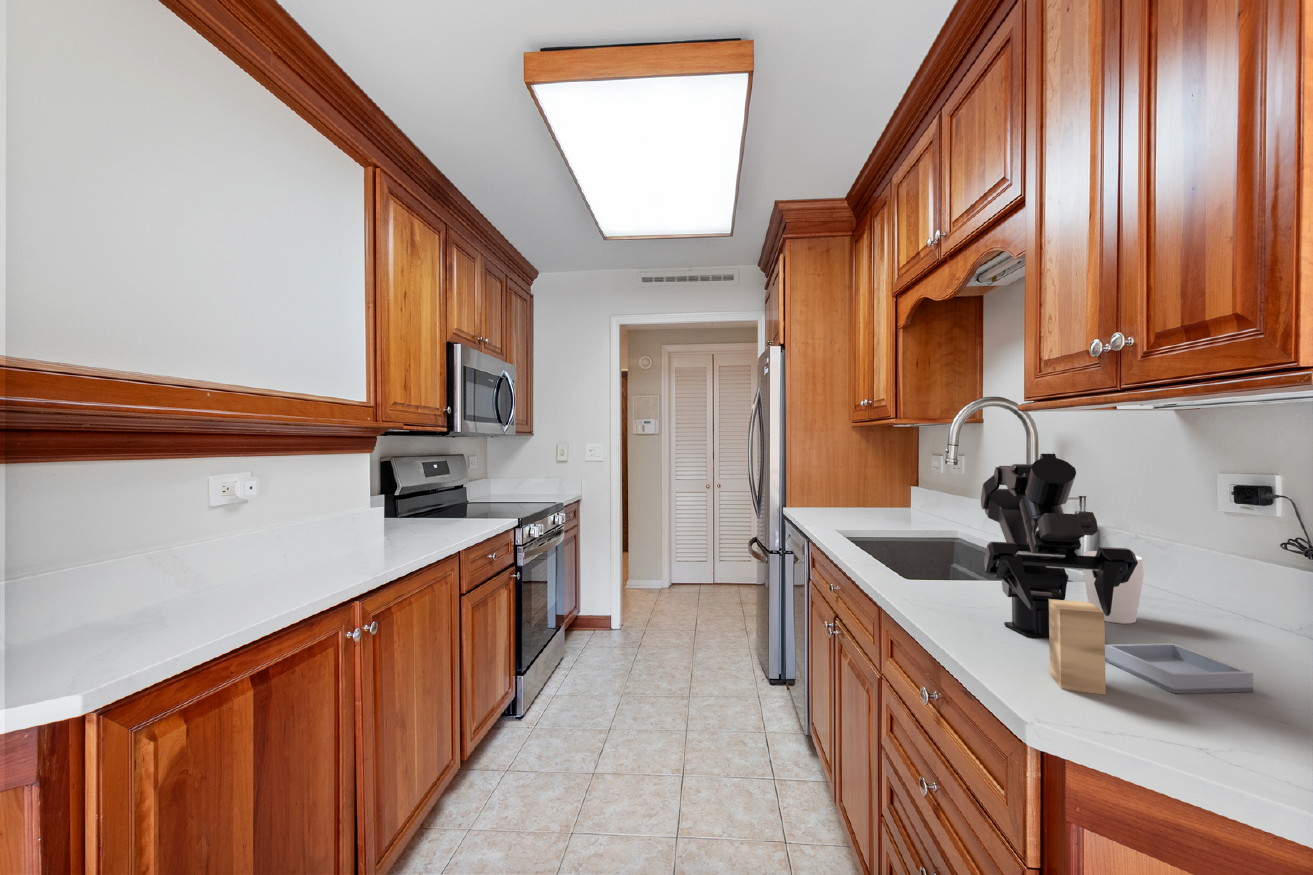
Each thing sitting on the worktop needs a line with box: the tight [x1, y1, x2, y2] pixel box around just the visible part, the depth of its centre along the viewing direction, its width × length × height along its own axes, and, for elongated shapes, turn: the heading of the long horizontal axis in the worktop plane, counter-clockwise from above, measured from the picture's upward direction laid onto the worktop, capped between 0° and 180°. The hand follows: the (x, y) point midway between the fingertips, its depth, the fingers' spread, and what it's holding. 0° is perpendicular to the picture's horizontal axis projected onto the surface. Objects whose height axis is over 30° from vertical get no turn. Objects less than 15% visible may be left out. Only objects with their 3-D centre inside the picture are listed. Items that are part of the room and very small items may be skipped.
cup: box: [1082, 550, 1145, 625], centre depth 105 cm, size 9×9×12 cm
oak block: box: [1048, 599, 1107, 695], centre depth 77 cm, size 5×5×11 cm
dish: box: [1105, 642, 1254, 694], centre depth 79 cm, size 11×11×2 cm
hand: (1069, 611), depth 80 cm, fingers open, 9 cm apart
